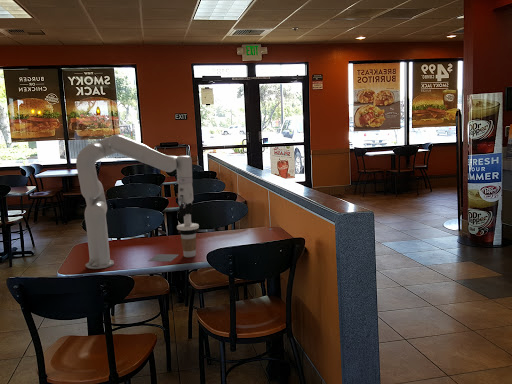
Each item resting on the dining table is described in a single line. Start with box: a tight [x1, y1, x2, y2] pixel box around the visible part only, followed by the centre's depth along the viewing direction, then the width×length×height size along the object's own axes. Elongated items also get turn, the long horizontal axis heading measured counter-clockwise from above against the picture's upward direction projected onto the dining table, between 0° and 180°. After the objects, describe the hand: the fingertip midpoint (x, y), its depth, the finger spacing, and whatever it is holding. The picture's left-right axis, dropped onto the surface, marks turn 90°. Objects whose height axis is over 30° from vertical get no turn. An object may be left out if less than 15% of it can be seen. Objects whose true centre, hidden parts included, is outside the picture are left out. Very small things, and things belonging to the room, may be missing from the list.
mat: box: [148, 253, 179, 262], centre depth 240 cm, size 12×12×1 cm
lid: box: [176, 213, 200, 231], centre depth 240 cm, size 11×11×7 cm
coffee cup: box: [179, 229, 197, 258], centre depth 241 cm, size 8×8×15 cm
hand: (185, 214), depth 239 cm, fingers open, 9 cm apart
